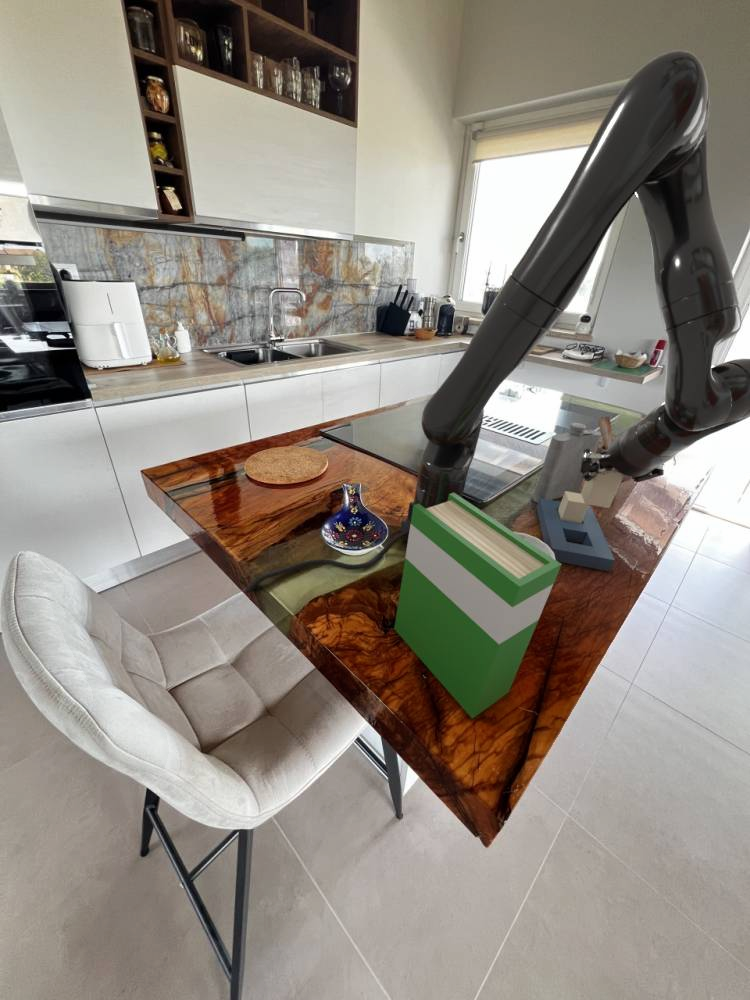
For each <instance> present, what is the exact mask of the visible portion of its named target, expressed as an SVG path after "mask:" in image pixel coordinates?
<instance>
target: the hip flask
mask: <svg viewBox="0 0 750 1000" xmlns="http://www.w3.org/2000/svg"><path fill="white" fill-rule="evenodd" d="M601 437H602V434H601V431H598V430H593V429H587V426H586V425H585V424H583V423H579V422H571V423H570V425H569V431H568V432H563V433H558V434H556V435H553V436H552V438H551V441H550V444H549V448H548V450H547V453H546V457H545V460H544V462H543V466H542V469H541V471H540V474H539V478H538V481H537V484H536V487H535V490H534V493H533V496H532V501H533V502H534V503H536V504H538V502H539V499H540V498H542V499H548V500H553V501H554V500H556V499H560V498H563V496H564V493H565V491H568V492H574V493H579V494H580V490H581V487H582V485H583V483H584V481H585V480H584V478H583V473H581V472H580V469H581V460H582V455H583V450H584V449H590V450H591V452H593V453H594V454H595V453H596V450H597V448H598V445H599V441H600V439H601Z"/></svg>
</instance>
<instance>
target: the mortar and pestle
mask: <svg viewBox="0 0 750 1000" xmlns="http://www.w3.org/2000/svg"><path fill="white" fill-rule="evenodd" d="M611 421H612V420H611V419H610V417H609V416H607V415H606V416H602V417H599V418H598V428H599V430H600V431H599V432H600V433H601V437H602V441H603V443H601V444H598V445H597V447H596V450H595V454H600V452H602V451H604V450H607V449H608V448H609V447H610V445H611V444H612V443H613V435H612V434H613V433H612V432H613V431H612V422H611Z"/></svg>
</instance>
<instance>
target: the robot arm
mask: <svg viewBox="0 0 750 1000" xmlns="http://www.w3.org/2000/svg"><path fill="white" fill-rule="evenodd" d="M709 90H710V89H709V82H708V78H707V74H706V70H705V68H704V66H703V63H702V62H701V61H700V59H699V58H698V57H697V56H696V55H695V54H694V53H692V52H691V51H688V50H684V49H683V50H682V49H678V50H677V49H676V50H670V51H668V52H666V53H662V54H660V55H658V56H656V57H654V58H653V59H651V60H649V61H648V62H647V63H646V64H644V65H643V66H641V68H640V69H638V70H637V71H636V72H634V74H633V75H632V77H630V78H629V79H628V80H627V82H626V83H625V85H623V87H622V88H621V89H620V91H619V92H618V94H617V95H616V97H615V98H614V100H613V102H612V103H611V105H610V106H609V108H608V110H607V112H606V114H605V116H604V118H603V119H602V121H601V123H600V125H599V127H598V128H597V131H596V133H595V134H594V137H593V138H592V140H591V142H590V144H589V146H588V148H587V150H586V151H585V153H584V155H583V157H582V159H581V161H580V163H579V164H578V166H577V168H576V169H575V172H574V174H573V175H572V178H571V179H570V181H569V183H568V185H567V186H566V188H565V189H564V192H563V193H562V195H561V197H560V198H559V199H558V201H557V203H556V204H555V206H554V207H553V209H552V211H551V212H550V213H549V215H548V216H547V218H546V219H545V221H544V222H543V224H542V226H540V228H539V230H538V232H536V235H535V236H534V238H533V240H531V243H530V244H529V246H528V247H527V249H526V250H525V252H524V254H523V255H522V257H521V258H520V259H519V261H518V263H516V265H515V267H514V268H513V269H512V271H511V273H510V274H509V276H508V277H507V279H506V281H505V282H504V284H503V285H502V287H501V289H500V290H499V291H498V293H497V295H496V297H495V299H494V300H493V302H492V303H491V305H490V307H489V308H488V310H487V312H486V314H484V315H485V316H484V317H483V318H482V320H481V322H480V324H479V326H478V327H477V329H476V331H475V333H474V335H473V336H472V338H471V340H470V342H469V344H468V346H467V347H466V349H465V351H464V353H463V355H462V357H461V358H460V360H459V361H458V362H457V364H456V366H455V367H454V368H453V370H452V371H451V372H450V374H449V375H448V376H447V377H446V378H445V380H444V382H443V383H442V384H441V385H440V386H439V388H438V389H437V390H436V392H435V393H434V394H433V395H432V396H431V397H430V398H429V400H428V401H427V402H426V404H425V405H424V407H423V410H422V414H421V428H422V432H423V434H424V436H425V438H426V439H427V443H426V446H425V447H424V450H423V452H422V453H421V456H420V458H419V459H420V460H419V466H418V474H417V479H416V485H415V492H414V499H413V501H410V502H409V504H408V510H407V518H405V519H402V520H401V523H400V530H401V532H400V533H398V534H397V535H395V536H394V537H392V538H391V540H389V541H388V542H387V544H386V545H385V547H384V548H382V549H381V550H380V551H379V552H378V553H377V554H376V555H375V556H374V557H372V558H371V559H370V560H368V561H365V562H362V563H357V564H351V563H346V562H340V561H338V560H334V559H329V558H317V559H309V560H305V561H301V562H298V563H294V564H292V565H288V566H287V567H286V566H285V567H283V568H279V569H275V570H272V571H269V572H265V573H263V574H262V575H260V576H258V577H257V578H255V579H254V580H253V581H251V583H250V584H249V585H248V586H247V588H246V589H245V591H246V593H247V592H248V593H250V592H252V591H254V590H255V588H256V587H257V586H258V585H260V584H261V583H262V582H264V581H266V580H267V579H269V578H273V577H275V576H279V575H283V574H286V573H289V572H292V571H294V570H298V569H301V568H304V567H308V566H313V565H314V566H315V565H329V566H333V567H337V568H340V569H346V570H361V569H362V570H363V569H365V568H369V567H371V566H373V565H375V563H377V562H378V561H379V560H380V559H381V558H382V557H383V556H385V555H386V554H387V553H388V552H389V550H390V549H391V548H392V547H393V546H394V544H395V543H397V542H398V541H400V540H401V539H403V538H404V541H405V542H406V544H408V537H409V531H410V525H411V518H412V512H413V505H416V504H420V505H421V506H423V507H424V508H425V509H426V508H429V507H432V506H435V505H439V504H442V503H445V502H448V497H449V494H451V493H455V494H457V495H458V496H460V497H461V498H463V495H464V491H465V487H466V486H465V485H466V483H467V478H468V473H469V470H470V467H471V465H472V462H473V460H474V456H475V453H476V449H477V446H478V441H479V438H480V433H481V431H482V430H481V429H482V425H483V421H484V414H485V407H486V406H487V404H488V403H489V401H490V399H491V398H492V396H493V395H494V394H495V392H496V390H497V389H498V388H499V387H500V385H501V384H502V383H503V382H504V381H505V380H506V379H507V378H508V377H509V376H510V375H511V374H512V373H513V372H514V371H515V370H516V369H517V368H518V367H519V366H520V365H521V364H522V363H523V362H524V361H525V360H526V359H527V358H528V356H529V355H530V354H531V353H532V352H533V351H534V350H535V349H536V347H538V345H539V344H540V343H541V342H542V341H543V339H544V338H545V337H546V336H547V335H548V333H549V332H550V331H551V330H552V328H553V327H554V326H555V324H556V323H557V322H558V320H559V319H560V317H562V315H563V314H564V313H565V311H566V310H567V308H568V307H569V305H570V304H571V302H572V301H573V300H574V298H575V297H576V295H577V293H578V292H579V290H580V288H581V286H582V284H583V283H584V280H585V278H586V277H587V275H588V272H589V270H590V268H591V266H592V264H593V262H594V259H595V257H596V255H597V253H598V251H599V248H600V246H601V245H602V243H603V241H604V238H605V236H606V235H607V233H608V231H609V230H610V228H611V226H612V224H613V223H614V222H615V220H616V218H617V217H618V216H619V214H620V213H621V212H622V210H623V209H624V208H625V207H626V205H627V204H628V202H629V201H630V200H631V199H632V198H633V196H634V195H636V197H637V199H638V202H639V204H640V206H641V209H642V212H643V215H644V217H645V221H646V224H647V225H646V226H647V229H648V233H649V238H650V245H651V255H652V264H653V274H654V283H655V289H656V290H655V291H656V296H657V301H658V302H657V303H658V306H659V311H660V315H661V320H662V324H663V328H664V332H665V337H666V340H667V342H666V343H667V346H666V349H667V350H666V359H665V373H664V376H665V377H664V384H663V385H664V387H663V402H662V403H661V404H659V405H658V406H656V407H655V408H654V409H652V410H651V411H650V412H649V413H648V414H647V415H645V416H644V417H643V418H641V419H639V420H638V421H636V422H634V423H633V424H632V425H630V427H629V428H627V429H626V430H625V431H624V432H623V433H621V434H620V435H619V436H618V437H617V438H615V439H614V440H612V442H613V443H612V444H611V445H610V447H609V448H608V449H607V450H604V451H602V452H600V454H596V453H595V452H594V453H593V452H591V450H590V449H584V450H583V455H582V460H581V469H580V472H581V473H583V478H584V480H583V481H585V482H586V481H589V480H590V479H592V478H593V477H595V475H598V474H600V475H605V474H608V473H611V472H613V473H615V472H619V473H622V474H624V475H623V479H622V481H621V483H620V485H621V484H623V483H624V482H630V480H633V482H635V483H640V482H641V483H642V482H644V481H647V480H651V479H654V478H658V477H661V476H664V475H665V474H664V472H665V470H664V469H665V464H666V463H667V462H669V461H671V460H672V459H673V458H674V457H675V456H677V455H678V454H679V453H681V452H683V451H685V450H687V449H688V448H690V447H691V446H693V445H694V444H695V443H697V442H698V441H700V440H701V439H703V438H706V437H708V436H710V435H712V434H714V433H718V432H720V431H722V430H724V429H726V428H730V427H731V426H734V425H736V424H738V423H740V422H742V421H745V420H746V419H748V418H750V358H736V359H732V360H729V361H725V362H721V363H719V364H716V365H713V362H714V357H715V352H716V351H715V350H716V349H717V347H718V346H719V345H720V344H722V343H724V342H726V341H727V340H729V339H731V338H732V337H734V336H735V335H736V334H738V333H739V331H740V330H741V327H742V321H743V320H742V315H741V308H740V306H739V305H740V302H739V298H738V294H737V289H736V285H735V279H734V276H733V271H732V267H731V263H730V260H729V256H728V252H727V249H726V246H725V243H724V240H723V237H722V234H721V231H720V228H719V225H718V223H717V222H718V221H717V218H716V215H715V211H714V206H713V201H712V195H711V190H710V182H709V181H710V180H709V172H708V124H709V120H710V112H711V99H710V91H709Z"/></svg>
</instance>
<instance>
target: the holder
mask: <svg viewBox="0 0 750 1000" xmlns="http://www.w3.org/2000/svg"><path fill="white" fill-rule="evenodd" d="M560 504H561V501H558V500H554V499H553V500H548V499H542V498H540V499H539V502H538V503H537V504H536V513H537V517H538V521H539V527H540V531H541V536H542V539H543V542H544V543H545V544H547V545H548V546H549V547H550V549H551V550H552V551H553V552H554V554H555V559H556V561H558V562H559V563H564V564H569V565H574V566H579V567H584V568H590V569H594V570H599V571H605V572H610V571H611V569H612V568H613V565H614V563H615V561H616V558H615V557H614V555H613V552H612V550H611V548H610V546H609V543H608V541H607V539H606V537H605V534H604V532H603V530H602V528H601V525H600V523H599V521H598V518H597V517H596V515H595V511H594V510H593V507H592V506H589V507H588V509H587V511H586V514H585V516H584V519H583V521H582V523H576V522H570V521H565V520H560V518H559V515H558V509H559V506H560Z"/></svg>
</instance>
